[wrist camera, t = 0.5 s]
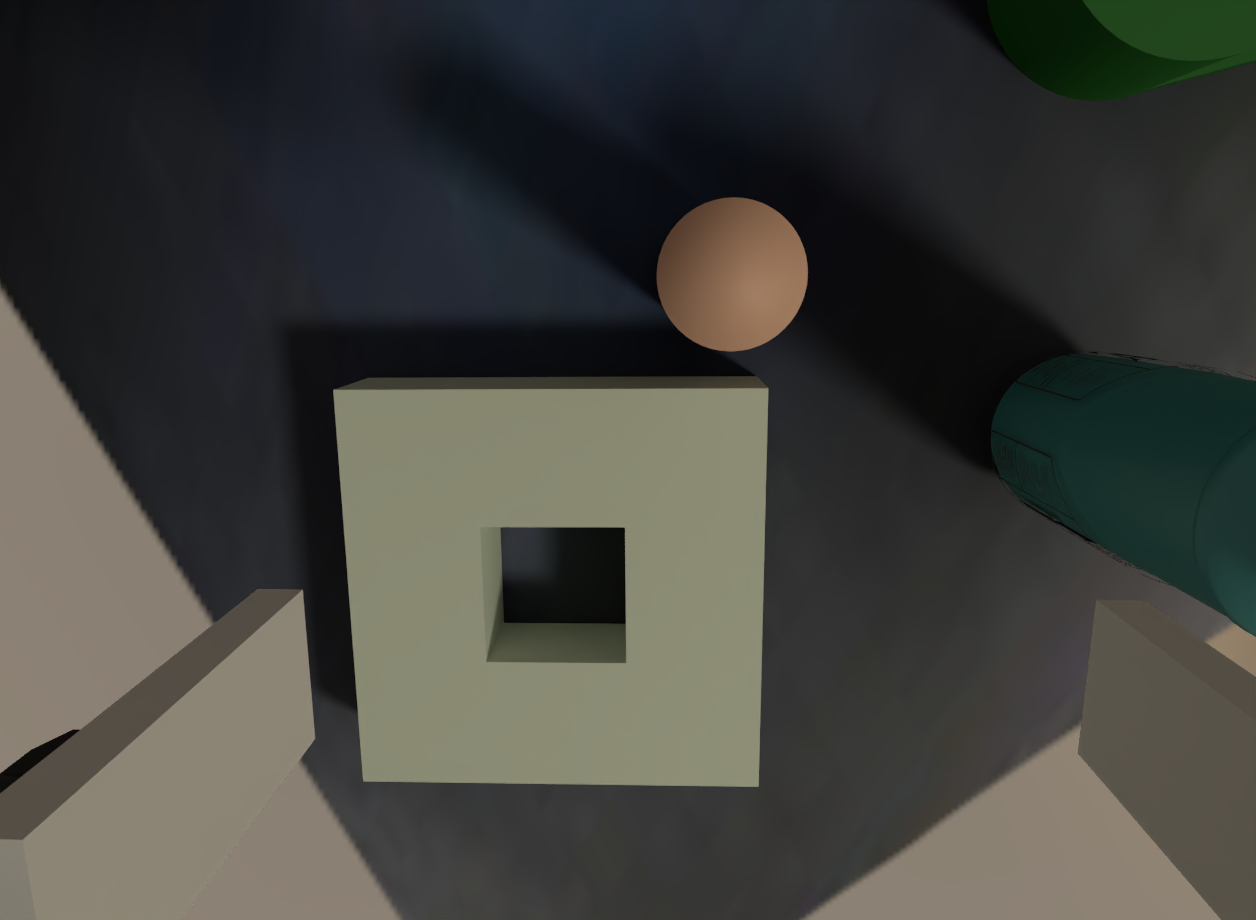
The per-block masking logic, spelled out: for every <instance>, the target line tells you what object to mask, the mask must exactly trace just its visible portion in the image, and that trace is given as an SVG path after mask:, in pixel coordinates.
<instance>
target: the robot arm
mask: <svg viewBox="0 0 1256 920" xmlns="http://www.w3.org/2000/svg"><path fill="white" fill-rule="evenodd" d="M314 739H315V732H314V720H313V708H312V696H311V684H310V672H309V660H308V648H307V636H306V624H305V612H304V600H303V590H286V589H257V590H256V591H255V592H254V593H252V594H251V595H250V596H249V597H247V598H246V599H245V600H244V601H242V602H241V603H240V604H239V605H237V606H236V607H235V608H233V609H232V610H231V611H230V612H228V613H227V614H226V615H225V616H223V617H222V618H221V619H220V620H218V621H217V622H216V623H215V624H213V625H212V626H211V627H210V628H208V629H207V630H206V631H204V632H203V633H202V634H201V635H199V636H198V637H197V638H196V639H194V640H193V641H192V642H191V643H189V644H188V645H187V646H186V647H184V648H183V649H182V650H181V651H179V652H178V653H177V654H175V655H174V656H173V657H172V658H170V659H169V660H168V661H167V662H165V663H164V664H163V665H162V666H160V667H159V668H158V669H157V670H155V671H154V672H153V673H152V674H150V675H149V676H148V677H146V678H145V679H144V680H143V681H141V682H140V683H139V684H138V685H136V686H135V687H134V688H133V689H131V690H130V691H129V692H128V693H126V694H125V695H124V696H123V697H121V698H120V699H119V700H117V701H116V702H115V703H114V704H112V705H111V706H110V707H109V708H107V709H106V710H105V711H104V712H102V713H101V714H100V715H99V716H97V717H96V718H95V719H94V720H92V721H91V722H90V723H89V724H87V725H86V726H85V727H83V728H82V729H81V730H71V731H69V732H67V733H65V734H63V735H61V736H59V737H57V738H55V739H53V740H51V741H49V742H47V743H44V744H42V745H40V746H39V747H36V748H34V749H32V750H30V751H29V752H28V753H27V754H25V755H24V756H23V757H21V758H20V759H19V760H17V761H16V762H15V763H13V764H12V765H11V766H9V767H8V768H7V769H6V770H4V771H3V772H2V773H0V920H182V918H183V917H184V916H185V914H186V913H187V912H188V910H189V909H190V908H191V906H192V904H194V902H195V901H196V899H197V898H198V897H199V895H200V894H201V893H202V891H203V890H204V889H205V887H206V886H207V885H208V883H209V882H210V880H211V879H212V878H213V876H214V875H215V874H216V872H217V871H218V870H219V868H220V867H221V866H222V864H223V863H224V862H225V860H226V859H227V857H228V856H229V855H230V853H231V852H232V851H233V849H234V848H235V846H236V845H237V844H238V843H239V841H240V840H241V838H242V837H243V836H244V834H245V833H246V832H247V830H248V829H249V828H250V826H251V825H252V824H253V822H254V821H255V819H256V818H257V817H258V815H259V814H260V813H261V811H262V810H263V809H264V807H265V806H266V805H267V803H268V802H269V800H270V799H271V798H272V796H273V795H274V794H275V792H276V791H277V790H278V788H279V787H280V785H281V784H282V783H283V781H284V780H285V779H286V777H287V776H288V775H289V773H290V772H291V770H292V769H293V768H294V767H295V765H296V764H297V762H298V761H299V760H300V758H301V757H302V756H303V754H304V753H305V752H306V750H307V749H308V748H309V746H310V745H311V743H312V742H313V741H314ZM1078 754H1079V755H1080V756H1081V757H1082V758H1083V760H1084V761H1085V762H1086V763H1087V764H1088V766H1089V767H1090V768H1091V769H1092V770H1093V771H1094V772H1095V774H1096V775H1097V776H1098V777H1099V778H1100V779H1101V781H1102V782H1103V783H1104V784H1105V785H1106V786H1107V788H1109V790H1110V791H1111V792H1112V793H1113V794H1114V796H1115V797H1116V798H1117V799H1118V800H1119V801H1120V803H1121V804H1122V805H1123V806H1124V807H1125V808H1126V809H1127V811H1128V812H1129V813H1130V814H1131V815H1132V816H1133V818H1134V819H1135V820H1136V821H1137V822H1138V824H1139V825H1140V826H1141V827H1142V828H1143V829H1144V830H1145V832H1146V833H1147V834H1148V835H1149V836H1150V837H1151V839H1152V840H1153V841H1154V842H1155V843H1156V844H1157V845H1158V847H1159V848H1160V849H1161V850H1162V851H1163V853H1164V854H1165V855H1166V856H1167V857H1168V858H1169V859H1170V861H1171V862H1172V863H1173V864H1174V865H1175V866H1176V868H1178V870H1179V871H1180V872H1181V873H1182V875H1183V876H1184V877H1185V878H1186V879H1187V880H1188V882H1189V883H1190V884H1191V885H1192V886H1193V887H1194V888H1195V890H1196V891H1197V892H1198V893H1199V894H1200V895H1201V897H1202V898H1203V899H1204V900H1205V901H1206V902H1207V903H1208V905H1209V906H1210V907H1211V908H1212V909H1213V911H1214V912H1215V913H1216V914H1217V915H1218V916H1219V917H1220V918H1221V920H1256V677H1255V676H1253V675H1252V674H1251V673H1249V672H1248V671H1246V670H1245V669H1243V668H1242V667H1240V666H1239V665H1237V664H1236V663H1234V662H1233V661H1231V660H1230V659H1229V658H1227V657H1226V656H1224V655H1223V654H1221V653H1220V652H1218V651H1217V650H1215V649H1214V648H1212V647H1211V646H1210V645H1208V644H1207V643H1205V642H1204V641H1202V640H1201V639H1199V638H1198V637H1197V636H1195V635H1194V634H1192V633H1191V632H1189V631H1188V630H1186V629H1185V628H1183V627H1182V626H1180V625H1179V624H1178V623H1176V622H1175V621H1173V620H1172V619H1170V618H1169V617H1167V616H1166V615H1164V614H1163V613H1161V612H1160V611H1159V610H1157V609H1156V608H1154V607H1153V606H1151V605H1150V604H1148V603H1147V602H1145V601H1138V600H1096V606H1095V614H1094V622H1093V631H1092V639H1091V647H1090V656H1089V664H1088V673H1087V681H1086V689H1085V698H1084V706H1083V714H1082V723H1081V731H1080V739H1079V749H1078Z"/></svg>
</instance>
